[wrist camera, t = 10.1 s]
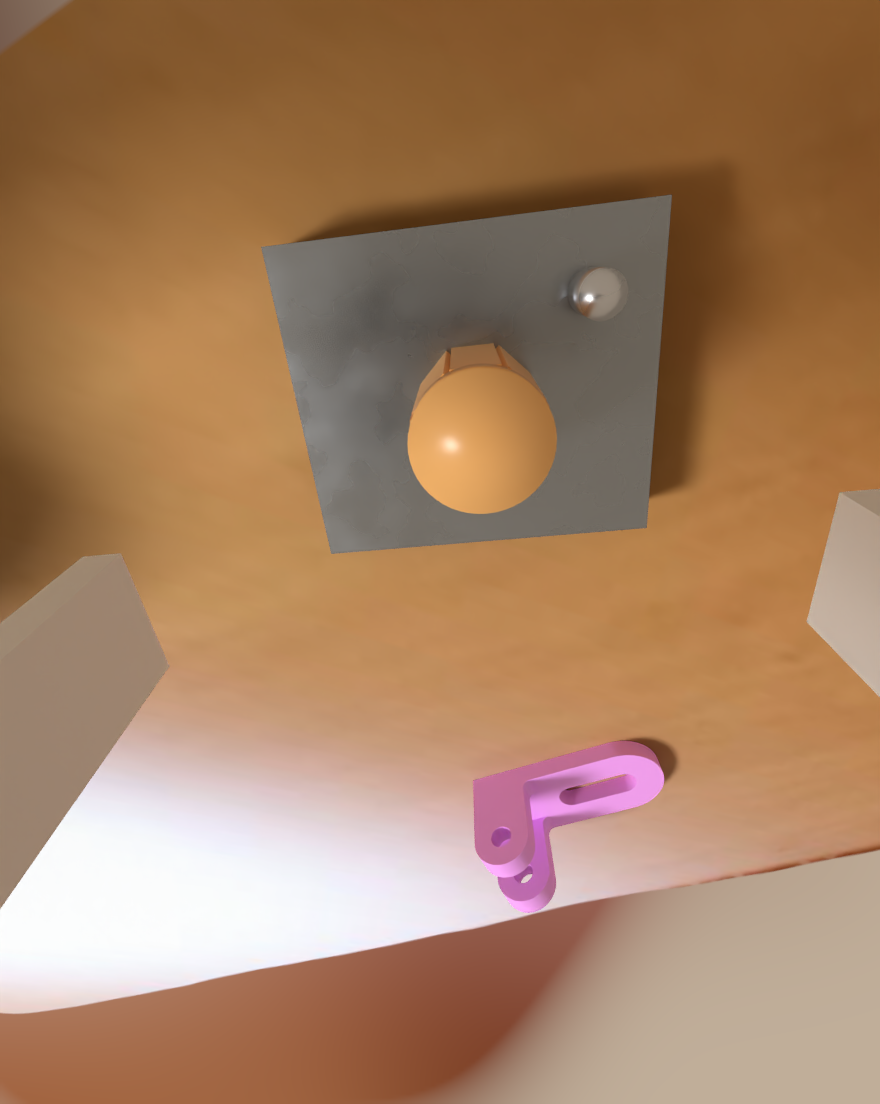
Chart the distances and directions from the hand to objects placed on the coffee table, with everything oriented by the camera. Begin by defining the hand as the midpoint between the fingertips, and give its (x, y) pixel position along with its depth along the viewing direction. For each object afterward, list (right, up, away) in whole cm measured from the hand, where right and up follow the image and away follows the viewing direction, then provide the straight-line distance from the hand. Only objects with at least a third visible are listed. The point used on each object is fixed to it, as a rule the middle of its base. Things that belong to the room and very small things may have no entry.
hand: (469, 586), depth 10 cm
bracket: (+9, -16, +30) cm, 35 cm away
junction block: (+1, +9, +17) cm, 19 cm away
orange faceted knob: (+1, +7, +14) cm, 16 cm away
